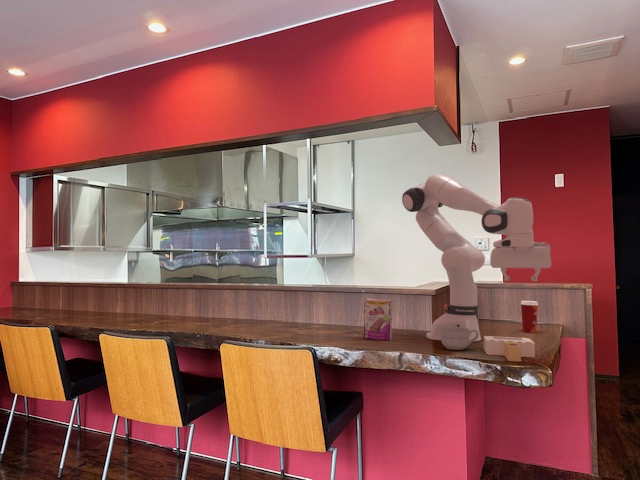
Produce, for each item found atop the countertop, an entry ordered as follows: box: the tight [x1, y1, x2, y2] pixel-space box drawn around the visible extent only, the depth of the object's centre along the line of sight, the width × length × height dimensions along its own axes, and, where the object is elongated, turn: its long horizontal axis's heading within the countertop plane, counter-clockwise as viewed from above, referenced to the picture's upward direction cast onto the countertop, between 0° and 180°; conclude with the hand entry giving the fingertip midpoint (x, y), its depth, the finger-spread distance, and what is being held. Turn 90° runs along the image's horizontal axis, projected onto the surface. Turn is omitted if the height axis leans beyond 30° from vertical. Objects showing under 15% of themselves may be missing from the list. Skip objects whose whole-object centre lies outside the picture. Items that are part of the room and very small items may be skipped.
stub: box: [504, 342, 522, 363], centre depth 156 cm, size 4×8×5 cm, turn 166°
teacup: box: [440, 327, 479, 351], centre depth 171 cm, size 14×11×8 cm
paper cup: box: [520, 300, 539, 334], centre depth 208 cm, size 8×8×14 cm
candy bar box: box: [363, 298, 393, 342], centre depth 188 cm, size 11×5×16 cm, turn 71°
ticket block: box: [483, 335, 536, 358], centre depth 164 cm, size 16×9×5 cm, turn 76°
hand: (520, 280), depth 161 cm, fingers open, 8 cm apart
